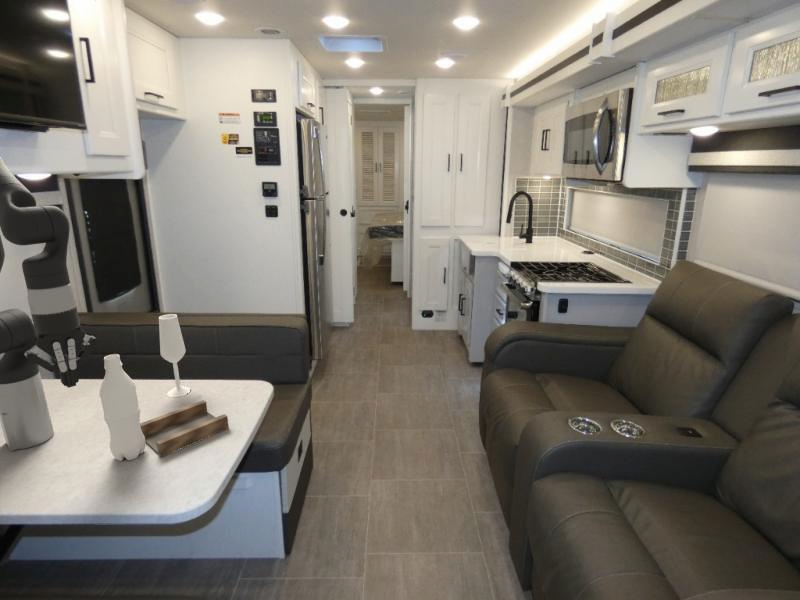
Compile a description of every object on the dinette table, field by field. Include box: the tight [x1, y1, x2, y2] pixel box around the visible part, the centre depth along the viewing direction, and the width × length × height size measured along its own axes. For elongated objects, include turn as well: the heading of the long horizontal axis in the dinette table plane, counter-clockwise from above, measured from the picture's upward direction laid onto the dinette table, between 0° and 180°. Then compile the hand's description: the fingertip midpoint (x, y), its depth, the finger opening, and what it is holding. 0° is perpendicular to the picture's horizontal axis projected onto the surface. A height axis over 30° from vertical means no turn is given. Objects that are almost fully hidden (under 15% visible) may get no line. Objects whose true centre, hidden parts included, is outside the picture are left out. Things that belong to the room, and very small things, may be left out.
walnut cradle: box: [140, 399, 230, 458], centre depth 120 cm, size 17×13×4 cm
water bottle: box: [98, 353, 147, 462], centre depth 108 cm, size 7×7×25 cm
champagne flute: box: [158, 313, 191, 398], centre depth 139 cm, size 7×7×24 cm
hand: (70, 385), depth 99 cm, fingers closed
